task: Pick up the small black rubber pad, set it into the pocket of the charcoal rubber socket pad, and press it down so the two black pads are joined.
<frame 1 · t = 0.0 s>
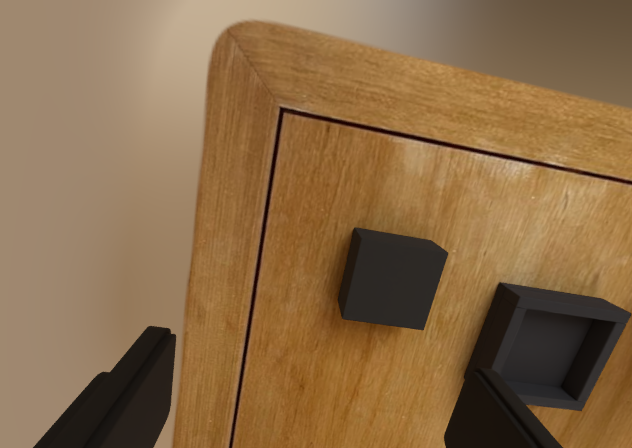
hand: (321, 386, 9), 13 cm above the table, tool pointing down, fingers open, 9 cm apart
socket pad: (530, 338, 25), on the table
black pad: (383, 270, 22), on the table
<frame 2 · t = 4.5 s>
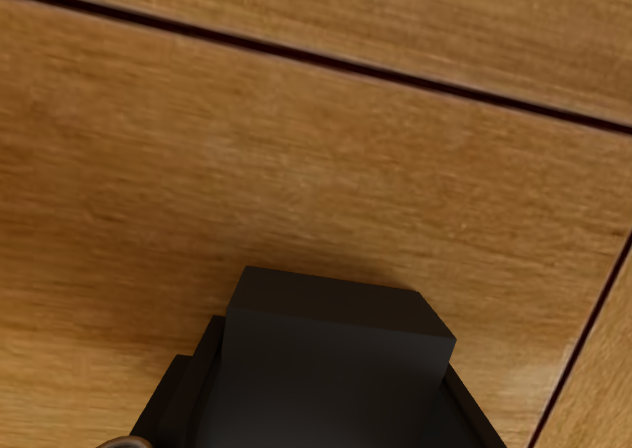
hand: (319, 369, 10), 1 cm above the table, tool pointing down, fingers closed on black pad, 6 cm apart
black pad: (318, 353, 11), on the table, touching gripper
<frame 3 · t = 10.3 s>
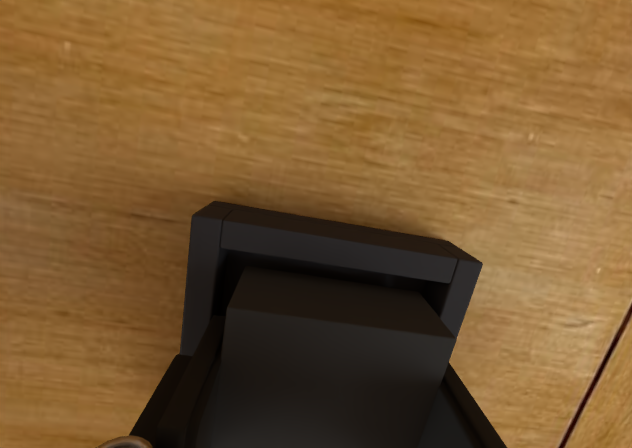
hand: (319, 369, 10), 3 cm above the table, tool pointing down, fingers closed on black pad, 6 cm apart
socket pad: (313, 326, 12), on the table
black pad: (318, 353, 11), point 2 cm above the table, touching gripper
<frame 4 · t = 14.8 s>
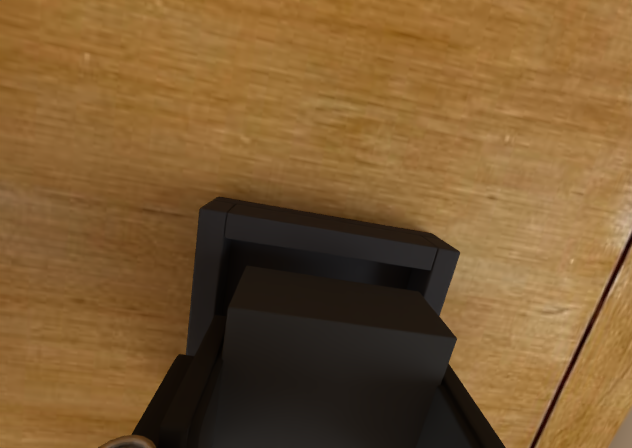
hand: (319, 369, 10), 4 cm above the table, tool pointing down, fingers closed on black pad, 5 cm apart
socket pad: (309, 312, 13), on the table
black pad: (318, 353, 11), point 3 cm above the table, touching gripper
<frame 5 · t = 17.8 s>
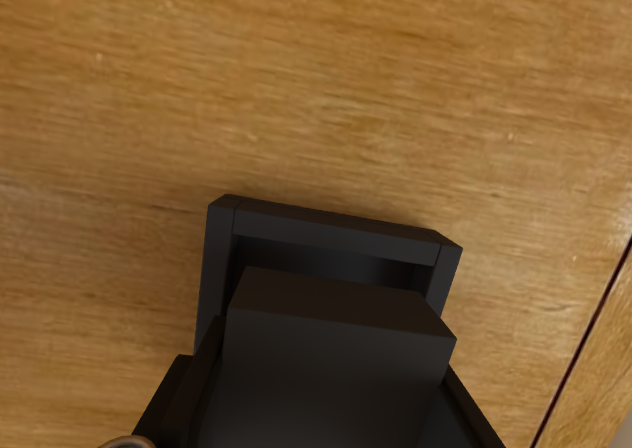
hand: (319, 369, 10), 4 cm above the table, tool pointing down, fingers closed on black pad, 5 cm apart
socket pad: (314, 307, 14), on the table
black pad: (318, 353, 11), point 3 cm above the table, touching gripper
when the fingers open (4 cm above the table, at t = 20.4 s): black pad drops 2 cm, resting on socket pad.
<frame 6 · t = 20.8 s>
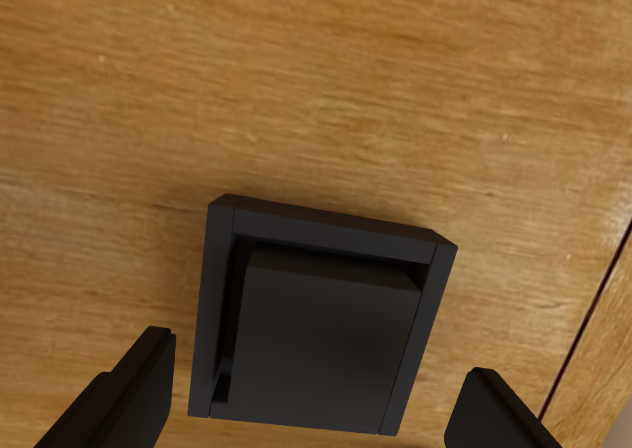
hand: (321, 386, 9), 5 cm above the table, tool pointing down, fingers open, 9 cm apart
socket pad: (312, 305, 14), on the table, touching black pad
black pad: (315, 314, 13), point 1 cm above the table, touching socket pad
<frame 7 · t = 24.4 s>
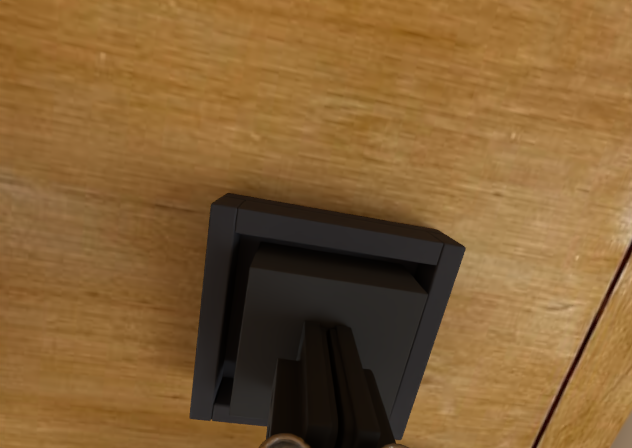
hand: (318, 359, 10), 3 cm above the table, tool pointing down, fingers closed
socket pad: (316, 307, 14), on the table, touching black pad
black pad: (319, 316, 13), point 1 cm above the table, touching gripper, socket pad
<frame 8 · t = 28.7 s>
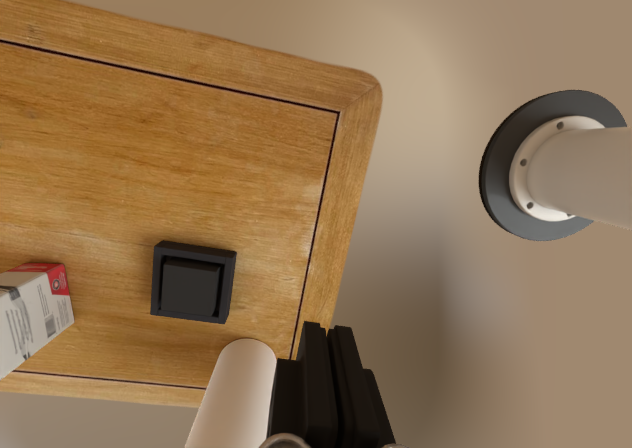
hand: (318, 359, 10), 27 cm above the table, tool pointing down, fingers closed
cup: (247, 362, 42), on the table
ink box: (51, 292, 38), on the table
socket pad: (197, 278, 38), on the table, touching black pad
black pad: (195, 281, 37), point 1 cm above the table, touching socket pad
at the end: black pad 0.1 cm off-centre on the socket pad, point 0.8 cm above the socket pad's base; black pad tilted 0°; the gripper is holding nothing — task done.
